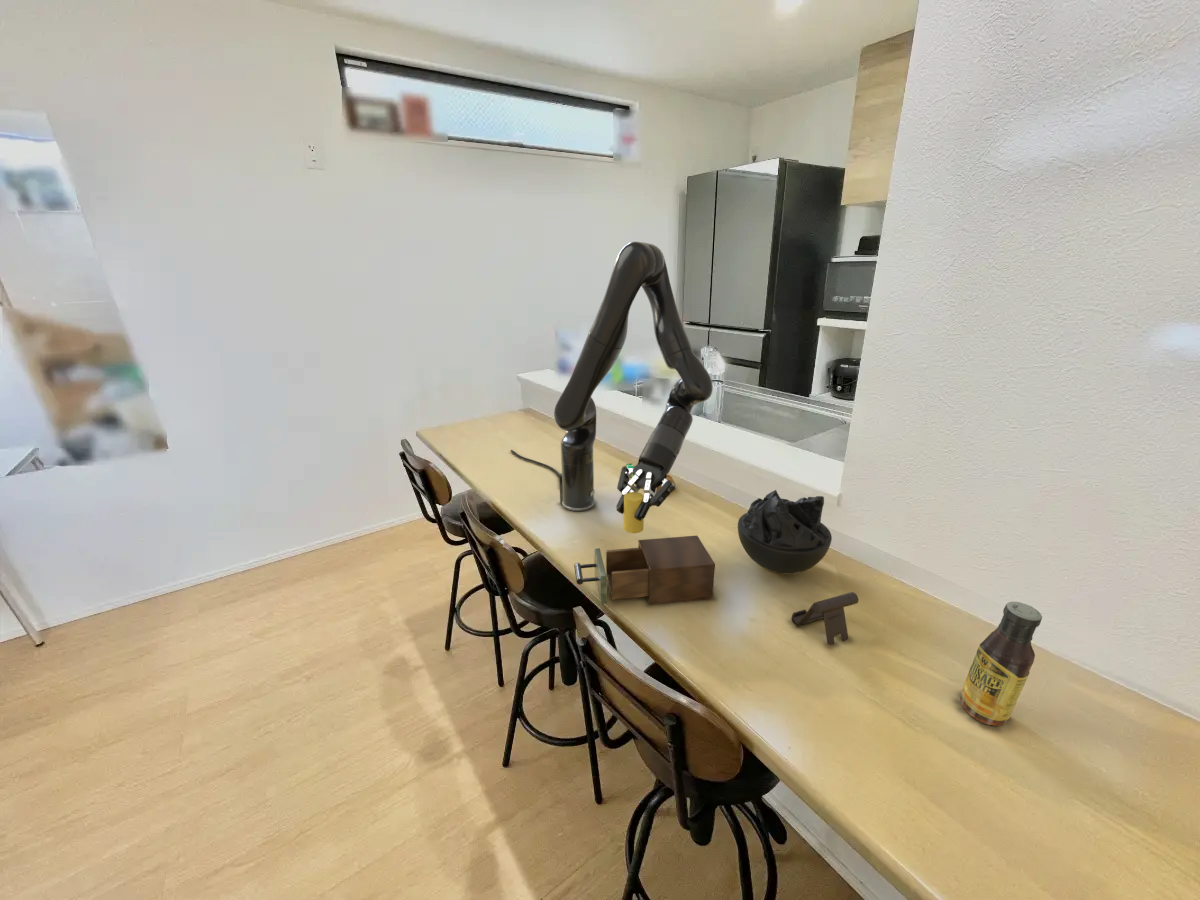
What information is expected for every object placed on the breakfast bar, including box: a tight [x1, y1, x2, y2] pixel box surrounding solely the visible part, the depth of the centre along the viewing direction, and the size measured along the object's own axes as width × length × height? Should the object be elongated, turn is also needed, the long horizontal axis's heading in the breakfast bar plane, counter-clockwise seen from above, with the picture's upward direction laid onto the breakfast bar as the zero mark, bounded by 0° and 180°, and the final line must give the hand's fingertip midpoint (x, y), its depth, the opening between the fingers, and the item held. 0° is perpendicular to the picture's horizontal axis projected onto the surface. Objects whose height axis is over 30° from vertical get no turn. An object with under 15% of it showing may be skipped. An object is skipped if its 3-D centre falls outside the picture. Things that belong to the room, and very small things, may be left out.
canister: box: [623, 491, 645, 534], centre depth 109 cm, size 4×4×8 cm
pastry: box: [656, 474, 676, 493], centre depth 154 cm, size 9×7×4 cm
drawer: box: [573, 547, 649, 605], centre depth 105 cm, size 17×10×7 cm, turn 98°
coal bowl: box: [737, 489, 833, 575], centre depth 111 cm, size 20×20×19 cm
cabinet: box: [637, 535, 716, 606], centre depth 107 cm, size 14×12×9 cm
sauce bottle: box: [960, 601, 1043, 727], centre depth 73 cm, size 7×6×20 cm
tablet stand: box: [790, 591, 859, 646], centre depth 93 cm, size 9×8×8 cm
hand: (628, 515), depth 108 cm, fingers closed on canister, 4 cm apart
